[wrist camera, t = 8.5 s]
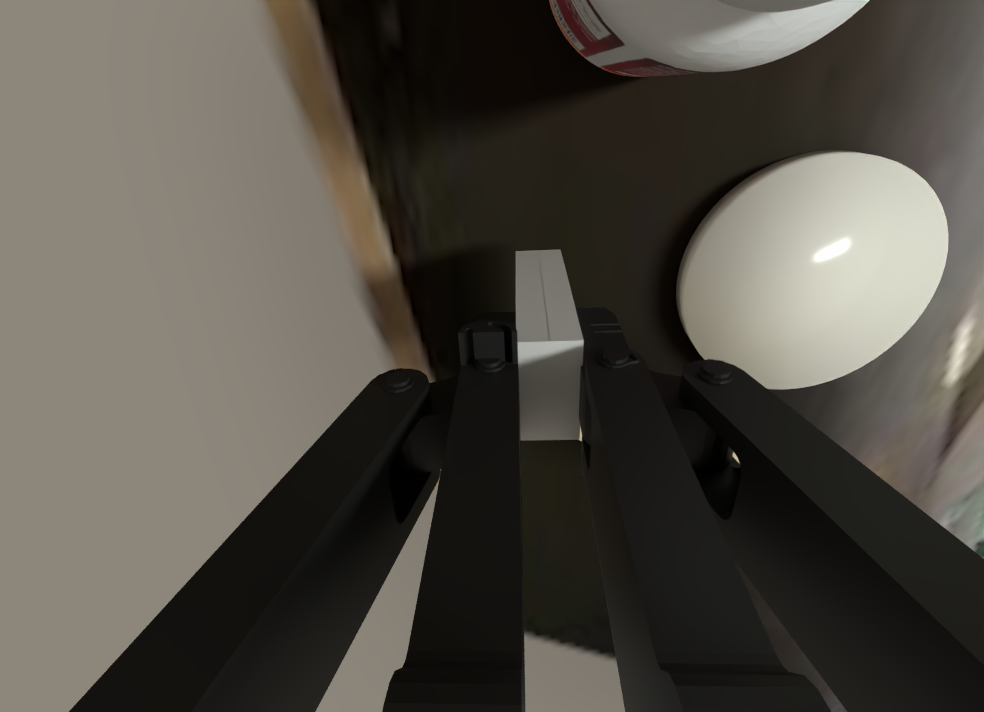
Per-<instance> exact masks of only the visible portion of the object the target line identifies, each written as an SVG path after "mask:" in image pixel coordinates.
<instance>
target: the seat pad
mask: <svg viewBox="0 0 984 712" xmlns="http://www.w3.org/2000/svg"><path fill="white" fill-rule="evenodd" d="M947 252H948V228H947V221H946V217H945V214H944V211H943V208H942V204H941V203H940V201H939V199H938V197H937V195H936V194H935V192H934V191H933V189H932V188H931V187H930V186H929V185H928V183H927V182H926V181H925V180H924V179H923V178H922V177H920V176H919V175H918V174H917V173H915V172H914V171H913V170H911V169H909V168H908V167H906V166H904V165H902V164H900V163H898V162H896V161H893V160H890V159H887V158H884V157H880V156H875V155H870V154H866V153H860V152H854V151H848V150H823V151H814V152H808V153H804V154H800V155H796V156H792V157H789V158H786V159H784V160H781V161H778V162H776V163H773V164H771V165H769V166H767V167H765V168H763V169H761V170H759V171H757V172H756V173H754V174H752V175H751V176H749V177H748V178H746V179H745V180H743V181H742V182H740V183H739V184H738V185H736V186H735V187H734V188H733V189H732V190H730V191H729V192H728V193H727V194H725V195H724V196H723V197H722V198H721V199H720V200H719V201H718V202H717V203H716V204H715V205H714V206H713V207H712V209H711V210H710V211H709V212H708V214H707V215H706V216H705V217H704V219H703V220H702V221H701V223H700V224H699V226H698V227H697V229H696V231H695V232H694V234H693V235H692V237H691V239H690V241H689V243H688V245H687V247H686V250H685V252H684V255H683V258H682V261H681V264H680V267H679V272H678V277H677V287H676V299H677V309H678V313H679V317H680V321H681V323H682V326H683V328H684V330H685V332H686V334H687V336H688V337H689V339H690V340H691V342H692V344H693V345H694V347H695V348H696V350H697V351H698V353H699V354H700V355H701V356H702V357H703V359H704V360H707V359H714V360H720V361H724V362H726V363H729V364H732V365H735V366H737V367H738V368H740V369H742V370H744V371H745V372H746V373H747V374H749V375H750V376H751V377H752V378H754V379H755V380H756V381H758V382H759V383H760V384H761V385H763V386H764V387H765V388H767V389H795V388H802V387H808V386H814V385H817V384H821V383H824V382H828V381H831V380H834V379H836V378H839V377H841V376H844V375H846V374H848V373H850V372H852V371H854V370H856V369H859V368H860V367H862V366H864V365H865V364H867V363H869V362H870V361H872V360H874V359H875V358H877V357H878V356H879V355H881V354H882V353H883V352H885V351H886V350H887V349H889V348H890V347H891V346H892V345H893V344H894V343H896V342H897V341H898V340H899V339H900V338H901V337H902V336H903V335H904V334H905V333H906V332H907V331H908V330H909V329H910V328H911V327H912V326H913V324H914V323H915V322H916V321H917V319H918V318H919V317H920V315H921V314H922V313H923V311H924V310H925V308H926V307H927V305H928V303H929V302H930V300H931V299H932V297H933V295H934V293H935V291H936V289H937V286H938V284H939V282H940V280H941V277H942V273H943V270H944V267H945V263H946V258H947Z"/></svg>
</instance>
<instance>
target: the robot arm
mask: <svg viewBox="0 0 984 712" xmlns="http://www.w3.org/2000/svg"><path fill="white" fill-rule="evenodd" d="M458 341H459V352H460V362H461V367H460V372H459V373H458V374H457V375H455V376H453V377H451V378H449V379H445V380H441V381H437V382H432V383H429V381H428V378H427V376H426V375H425V374H424V373H422V372H421V371H418V370H414V369H403V368H400V369H396V370H395V369H393V370H389V371H387V372H385V373H383V374H380V375H378V376H377V377H376V378H374V379H373V380H372V381H371V382H370V383H369V384H368V385H367V386H366V387H365V388H364V389H363V390H362V392H361V393H360V394H359V395H358V396H357V397H356V398H355V399H354V400H353V401H352V403H351V404H350V405H349V406H348V407H347V408H346V409H345V410H344V411H343V412H342V413H341V415H340V416H339V417H338V418H337V419H336V420H335V421H334V422H333V423H332V425H331V426H330V427H329V428H328V429H327V430H326V431H325V432H324V433H323V434H322V435H321V436H320V438H319V439H318V440H317V441H316V442H315V443H314V444H313V445H312V446H311V448H309V450H308V451H307V452H306V453H305V454H304V455H303V456H302V457H301V458H300V459H299V461H298V462H297V463H296V464H295V465H294V466H293V467H292V468H291V469H290V471H288V473H287V474H286V475H285V476H284V477H283V478H282V479H281V480H280V482H278V484H277V485H276V486H275V487H274V488H273V489H272V490H271V491H270V492H269V493H268V494H267V496H266V497H265V498H264V499H263V500H262V501H261V502H260V503H259V504H258V505H257V507H256V508H255V509H254V510H253V511H252V512H251V513H250V514H249V515H248V516H247V517H246V519H245V520H244V521H243V522H242V523H241V524H240V525H239V526H238V527H237V528H236V530H235V531H234V532H233V533H232V534H231V535H230V536H229V537H228V538H227V539H226V540H225V542H224V543H223V544H222V545H221V546H220V547H219V548H218V549H217V550H216V551H215V553H214V554H213V555H212V556H211V557H210V558H209V559H208V560H207V561H206V562H205V563H204V564H203V566H202V567H201V568H200V569H199V570H198V571H197V572H196V573H195V574H194V576H193V577H192V578H191V579H190V580H189V581H188V582H187V583H186V584H185V585H184V587H183V588H182V589H181V590H180V591H179V592H178V593H177V594H176V595H175V596H174V598H172V600H171V601H170V602H169V603H168V604H167V605H166V606H165V607H164V608H163V609H162V610H161V612H160V613H159V614H158V615H157V616H156V617H155V618H154V619H153V620H152V621H151V623H150V624H149V625H148V626H147V627H146V628H145V629H144V630H143V631H142V632H141V633H140V635H139V636H138V637H137V638H136V639H135V640H134V641H133V642H132V643H131V645H129V647H128V648H127V649H126V650H125V651H124V652H123V653H122V654H121V655H120V657H119V658H118V659H117V660H116V661H115V662H114V663H113V664H112V665H111V666H110V667H109V669H108V670H107V671H106V672H105V673H104V674H103V675H102V676H101V677H100V678H99V679H98V681H97V682H96V683H95V684H94V685H93V686H92V687H91V688H90V689H89V690H88V691H87V693H86V694H85V695H84V696H83V697H82V698H81V699H80V700H79V701H78V702H77V703H76V705H75V706H74V707H73V708H72V709H71V710H70V711H69V712H315V711H316V709H317V707H318V706H319V704H320V702H321V700H322V698H323V696H324V694H325V692H326V690H327V689H328V686H329V685H330V683H331V681H332V679H333V677H334V675H335V674H336V672H337V670H338V668H339V666H340V664H341V662H342V660H343V658H344V657H345V655H346V653H347V651H348V649H349V647H350V645H351V643H352V642H353V640H354V638H355V636H356V634H357V632H358V630H359V628H360V627H361V625H362V623H363V621H364V619H365V617H366V615H367V613H368V611H369V609H370V608H371V606H372V604H373V602H374V600H375V598H376V596H377V595H378V593H379V591H380V589H381V587H382V585H383V583H384V581H385V580H386V578H387V576H388V574H389V572H390V570H391V568H392V566H393V565H394V563H395V561H396V559H397V557H398V555H399V553H400V551H401V549H402V548H403V546H404V544H405V542H406V540H407V538H408V536H409V534H410V533H411V531H412V529H413V527H414V525H415V523H416V521H417V519H418V517H419V515H420V514H421V512H422V510H423V508H424V506H425V504H426V502H427V501H428V499H429V497H430V495H431V493H432V491H433V489H434V487H435V486H436V484H437V482H438V480H439V477H440V480H439V485H438V491H437V496H436V501H435V507H434V512H433V518H432V523H431V529H430V534H429V539H428V545H427V550H426V555H425V561H424V566H423V571H422V577H421V582H420V588H419V593H418V599H417V604H416V609H415V615H414V620H413V626H412V631H411V636H410V642H409V647H408V652H407V656H406V660H405V663H404V665H403V667H402V668H400V669H398V670H396V671H395V672H394V674H393V676H392V678H391V681H390V683H389V687H388V691H387V694H386V698H385V702H384V706H383V712H525V671H524V670H525V669H524V668H525V664H524V605H523V545H522V486H521V440H580V427H581V432H582V446H581V468H580V477H585V478H586V484H587V490H588V496H589V501H590V507H591V513H592V519H593V525H594V531H595V537H596V542H597V548H598V554H599V560H600V566H601V572H602V578H603V583H604V589H605V595H606V601H607V607H608V613H609V619H610V624H611V630H612V636H613V642H614V648H615V654H616V660H617V666H618V671H619V677H620V683H621V689H622V694H623V700H624V707H625V712H831V711H830V709H829V707H828V706H827V704H826V702H825V701H824V699H823V697H822V696H821V694H820V692H819V691H818V689H817V688H816V687H815V686H814V685H813V684H812V683H811V682H810V681H809V680H808V679H807V678H806V677H805V676H804V675H800V674H796V673H792V672H788V671H787V670H786V669H785V668H784V667H783V666H782V664H781V662H780V661H779V659H778V657H777V655H776V653H775V651H774V649H773V647H772V644H771V642H770V640H769V638H768V635H767V633H766V631H765V629H764V626H763V624H762V622H761V620H760V618H759V615H758V613H757V611H756V609H755V606H754V604H753V602H752V600H751V597H750V595H749V593H748V591H747V588H746V586H745V584H744V582H743V580H742V577H741V575H740V573H739V571H738V568H737V566H736V564H735V562H736V563H737V564H738V566H739V567H740V568H741V570H742V571H743V572H744V574H745V575H746V576H747V578H748V579H749V580H750V582H751V583H752V584H753V586H754V587H755V588H756V590H757V591H758V592H759V594H760V595H761V596H762V598H763V599H764V600H765V602H766V603H767V604H768V606H769V607H770V608H771V610H772V611H773V612H774V614H775V615H776V616H777V618H778V619H779V620H780V622H781V623H782V625H783V626H784V627H785V629H786V630H787V631H788V633H789V634H790V635H791V637H792V638H793V639H794V641H795V642H796V643H797V645H798V646H799V647H800V649H801V650H802V651H803V653H804V654H805V655H806V657H807V658H808V659H809V661H810V662H811V663H812V665H813V666H814V667H815V669H816V670H817V671H818V673H819V674H820V675H821V677H822V678H823V679H824V681H825V682H826V683H827V685H828V686H829V687H830V689H831V690H832V691H833V693H834V694H835V695H836V697H837V698H838V699H839V701H840V702H841V703H842V705H843V706H844V707H845V709H846V710H847V711H848V712H984V559H983V558H982V557H981V556H979V555H978V554H977V553H975V552H974V551H973V550H972V549H970V548H969V547H968V546H967V545H965V544H964V543H963V542H961V541H960V540H959V539H958V538H956V537H955V536H954V535H952V534H951V533H950V532H949V531H947V530H946V529H945V528H944V527H942V526H941V525H940V524H938V523H937V522H936V521H935V520H933V519H932V518H931V517H930V516H928V515H927V514H926V513H924V512H923V511H922V510H921V509H919V508H918V507H917V506H916V505H914V504H913V503H912V502H910V501H909V500H908V499H907V498H905V497H904V496H903V495H902V494H900V493H899V492H898V491H896V490H895V489H894V488H893V487H891V486H890V485H889V484H888V483H886V482H885V481H884V480H882V479H881V478H880V477H879V476H877V475H876V474H875V473H874V472H872V471H871V470H870V469H868V468H867V467H866V466H865V465H863V464H862V463H861V462H859V461H858V460H857V459H856V458H854V457H853V456H852V455H851V454H849V453H848V452H847V451H845V450H844V449H843V448H842V447H840V446H839V445H838V444H837V443H835V442H834V441H833V440H831V439H830V438H829V437H828V436H826V435H825V434H824V433H823V432H821V431H820V430H819V429H817V428H816V427H815V426H814V425H812V424H811V423H810V422H809V421H807V420H806V419H805V418H803V417H802V416H801V415H800V414H798V413H797V412H796V411H795V410H793V409H792V408H791V407H789V406H788V405H787V404H786V403H784V402H783V401H782V400H781V399H779V398H778V397H777V396H775V395H774V394H773V393H772V392H770V391H769V390H768V389H767V388H765V387H764V386H763V385H761V384H760V383H759V382H758V381H756V380H755V379H754V378H752V377H751V376H750V375H749V374H747V373H746V372H745V371H744V370H742V369H740V368H738V367H737V366H735V365H732V364H729V363H726V362H724V361H720V360H714V359H707V360H697V361H693V362H690V363H688V364H687V365H685V366H684V367H683V371H682V377H680V376H673V375H666V374H661V373H656V372H653V371H650V370H648V367H647V365H646V363H645V361H644V359H643V358H642V357H641V356H640V355H639V354H637V353H635V352H633V351H631V350H629V348H628V345H627V343H626V340H625V338H624V335H623V333H622V332H621V328H620V326H619V323H618V321H617V319H616V316H615V315H614V314H613V313H611V312H610V311H609V310H607V309H606V308H577V309H575V305H574V301H573V297H572V293H571V289H570V285H569V281H568V277H567V274H566V270H565V266H564V262H563V258H562V254H561V250H537V251H516V312H490V313H482V314H480V315H479V316H478V317H477V318H476V319H475V320H474V322H473V323H469V324H467V325H465V326H464V327H462V328H461V329H460V331H459V332H458ZM733 452H734V453H735V454H736V456H737V458H738V460H739V462H740V463H738V462H737V460H736V459H735V458H734V457H733ZM440 469H441V471H440ZM440 473H441V474H440ZM734 560H735V562H734Z"/></svg>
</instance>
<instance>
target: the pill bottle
mask: <svg viewBox="0 0 984 712" xmlns="http://www.w3.org/2000/svg"><path fill="white" fill-rule="evenodd" d="M868 1H869V0H549V2H550V6H551V9H552V12H553V14H554V17H555V19H556V22H557V24H558V26H559V28H560V29H561V31H562V33H563V34H564V36H565V37H566V39H567V40H568V41H569V43H570V44H571V45H572V46H573V47H574V48H575V49H576V51H577V52H578V53H580V54H581V55H582V56H583V57H584V58H585V59H587V60H588V61H590V62H591V63H593V64H594V65H596V66H598V67H600V68H602V69H603V70H606V71H608V72H611V73H615V74H619V75H624V76H633V77H650V76H666V75H678V74H693V73H717V72H727V71H733V70H740V69H744V68H750V67H754V66H758V65H762V64H765V63H769V62H772V61H775V60H777V59H780V58H782V57H785V56H788V55H790V54H792V53H794V52H796V51H798V50H800V49H803V48H804V47H806V46H808V45H810V44H811V43H813V42H815V41H817V40H819V39H820V38H822V37H823V36H825V35H826V34H828V33H829V32H831V31H832V30H834V29H835V28H837V27H838V26H840V25H841V24H843V23H844V22H845V21H846V20H848V19H849V18H850V17H851V16H852V15H854V14H855V13H856V12H857V11H858V10H860V9H861V8H862V7H863V6H864V5H865V4H866V3H867V2H868Z"/></svg>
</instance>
